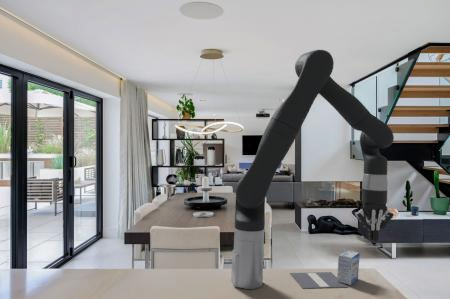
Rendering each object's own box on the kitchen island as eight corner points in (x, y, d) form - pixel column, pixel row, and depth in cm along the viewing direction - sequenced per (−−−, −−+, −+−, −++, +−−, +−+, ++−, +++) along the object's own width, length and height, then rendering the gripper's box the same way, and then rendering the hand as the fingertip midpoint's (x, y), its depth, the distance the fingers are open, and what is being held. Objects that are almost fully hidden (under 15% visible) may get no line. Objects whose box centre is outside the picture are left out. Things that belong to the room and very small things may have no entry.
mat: (302, 288, 106) (302, 287, 106) (289, 273, 117) (289, 272, 117) (347, 287, 108) (347, 286, 108) (330, 272, 120) (330, 272, 120)
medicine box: (350, 285, 108) (352, 258, 108) (336, 281, 111) (338, 254, 111) (358, 278, 115) (360, 252, 115) (344, 275, 117) (346, 249, 117)
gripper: (361, 189, 109) (359, 245, 109) (400, 189, 110) (398, 244, 111) (349, 186, 116) (348, 238, 116) (386, 186, 118) (384, 237, 118)
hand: (373, 241), depth 114 cm, fingers closed
